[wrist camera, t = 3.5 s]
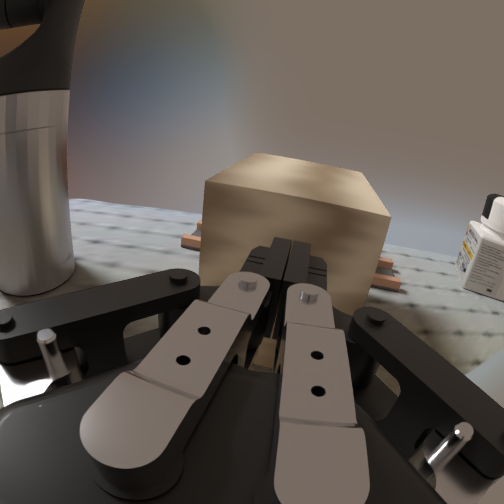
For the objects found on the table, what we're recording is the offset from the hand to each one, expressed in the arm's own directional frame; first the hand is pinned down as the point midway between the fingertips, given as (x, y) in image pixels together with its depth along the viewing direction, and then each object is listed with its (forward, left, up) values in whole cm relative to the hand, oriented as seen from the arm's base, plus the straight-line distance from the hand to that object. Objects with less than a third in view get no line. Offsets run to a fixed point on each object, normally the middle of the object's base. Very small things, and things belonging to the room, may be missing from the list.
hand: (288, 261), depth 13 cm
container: (+28, +27, -10) cm, 40 cm away
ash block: (0, +11, -10) cm, 15 cm away
